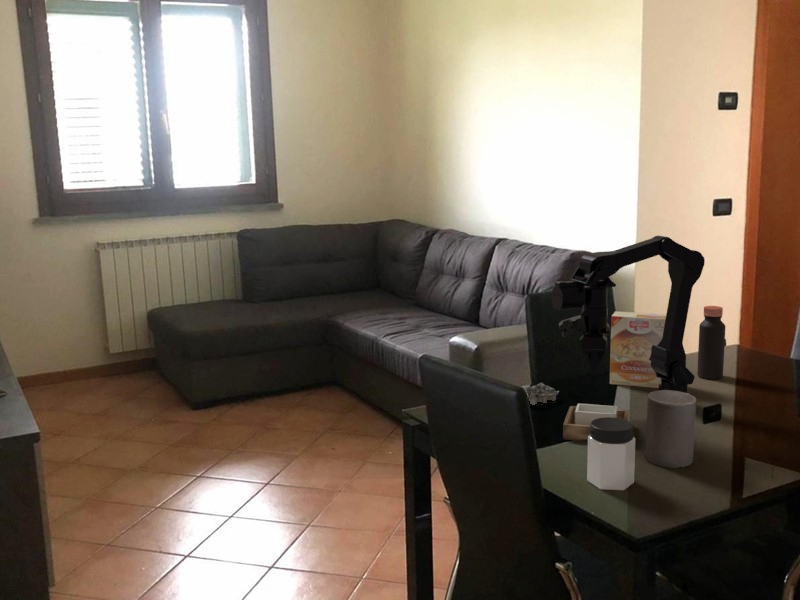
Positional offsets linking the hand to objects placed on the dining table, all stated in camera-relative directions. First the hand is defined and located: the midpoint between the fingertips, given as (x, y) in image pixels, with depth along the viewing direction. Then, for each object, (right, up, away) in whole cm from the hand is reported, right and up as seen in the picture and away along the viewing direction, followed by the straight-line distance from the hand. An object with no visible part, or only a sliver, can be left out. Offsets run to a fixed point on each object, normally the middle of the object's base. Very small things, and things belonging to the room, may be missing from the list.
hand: (594, 369), depth 193 cm
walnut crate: (-2, -14, -10) cm, 17 cm away
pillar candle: (+9, -17, -27) cm, 33 cm away
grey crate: (-2, -13, -10) cm, 16 cm away
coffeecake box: (+19, -7, +27) cm, 34 cm away
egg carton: (-12, -10, +14) cm, 21 cm away
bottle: (+40, -5, +31) cm, 51 cm away
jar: (-6, -19, -37) cm, 42 cm away
